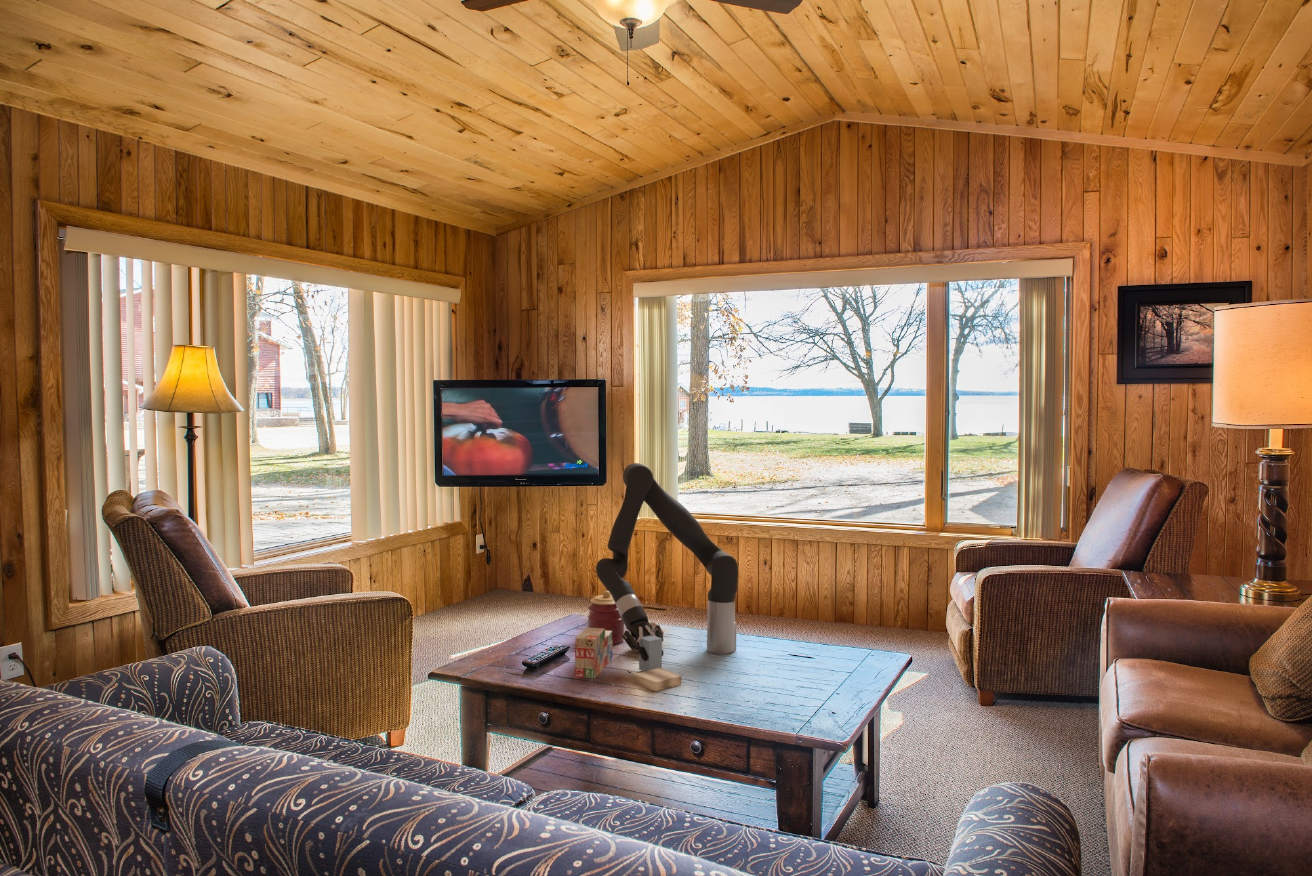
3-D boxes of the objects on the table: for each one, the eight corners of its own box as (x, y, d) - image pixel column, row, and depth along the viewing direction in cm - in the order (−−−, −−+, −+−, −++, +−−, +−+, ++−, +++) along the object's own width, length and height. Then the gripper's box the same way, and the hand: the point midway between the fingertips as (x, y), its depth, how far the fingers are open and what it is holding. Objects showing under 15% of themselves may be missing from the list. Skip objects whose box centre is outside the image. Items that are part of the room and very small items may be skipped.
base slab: (659, 677, 254) (659, 667, 254) (681, 686, 246) (681, 675, 246) (633, 683, 247) (633, 673, 247) (655, 692, 240) (655, 682, 240)
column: (651, 666, 261) (652, 635, 261) (661, 670, 257) (662, 638, 257) (638, 669, 258) (639, 637, 258) (648, 673, 254) (649, 641, 254)
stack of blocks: (593, 657, 272) (594, 620, 272) (612, 659, 271) (613, 621, 270) (574, 677, 251) (575, 636, 251) (594, 679, 250) (595, 638, 249)
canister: (609, 647, 283) (610, 596, 283) (579, 641, 290) (580, 591, 290) (631, 639, 294) (632, 590, 294) (602, 633, 301) (602, 585, 301)
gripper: (618, 608, 259) (641, 655, 249) (654, 602, 267) (677, 647, 258) (608, 621, 263) (630, 668, 254) (644, 615, 272) (667, 660, 263)
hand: (654, 658), depth 256 cm, fingers closed on column, 5 cm apart
